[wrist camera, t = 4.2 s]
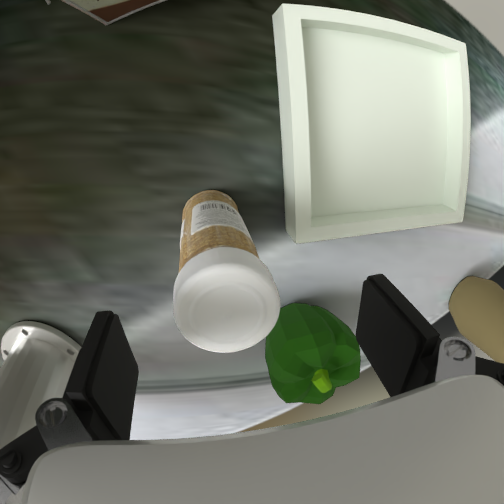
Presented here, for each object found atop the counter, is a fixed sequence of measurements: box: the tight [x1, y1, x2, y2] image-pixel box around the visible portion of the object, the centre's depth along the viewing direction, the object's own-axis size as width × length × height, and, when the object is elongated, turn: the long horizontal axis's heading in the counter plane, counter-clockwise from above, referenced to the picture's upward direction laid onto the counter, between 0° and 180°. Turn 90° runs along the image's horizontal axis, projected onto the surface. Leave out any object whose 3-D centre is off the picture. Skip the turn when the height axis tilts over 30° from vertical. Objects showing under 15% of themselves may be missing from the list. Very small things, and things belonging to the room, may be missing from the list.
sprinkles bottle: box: [173, 190, 280, 353], centre depth 19 cm, size 5×5×14 cm
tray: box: [272, 4, 471, 244], centre depth 22 cm, size 18×18×3 cm
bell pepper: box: [265, 303, 361, 404], centre depth 26 cm, size 8×8×10 cm
